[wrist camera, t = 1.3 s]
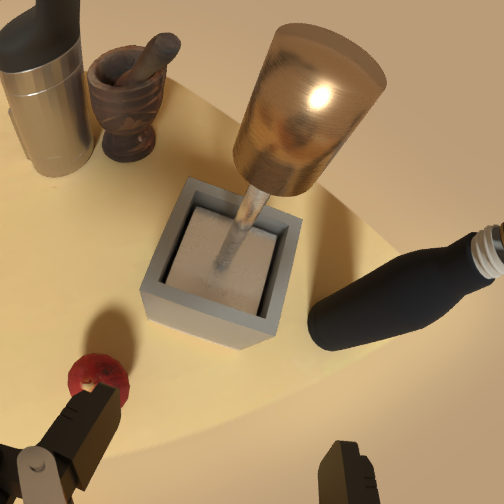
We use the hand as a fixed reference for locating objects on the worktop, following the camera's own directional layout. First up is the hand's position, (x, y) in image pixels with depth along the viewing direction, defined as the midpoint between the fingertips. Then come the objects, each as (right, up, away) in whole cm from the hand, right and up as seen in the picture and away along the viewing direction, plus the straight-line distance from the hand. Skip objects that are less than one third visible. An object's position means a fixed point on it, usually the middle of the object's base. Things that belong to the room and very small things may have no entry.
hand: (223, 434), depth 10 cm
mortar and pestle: (-14, +20, +29) cm, 38 cm away
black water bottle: (+10, -2, +27) cm, 29 cm away
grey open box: (-4, +2, +25) cm, 25 cm away
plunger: (-1, +6, +16) cm, 17 cm away
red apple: (-14, -7, +18) cm, 24 cm away
